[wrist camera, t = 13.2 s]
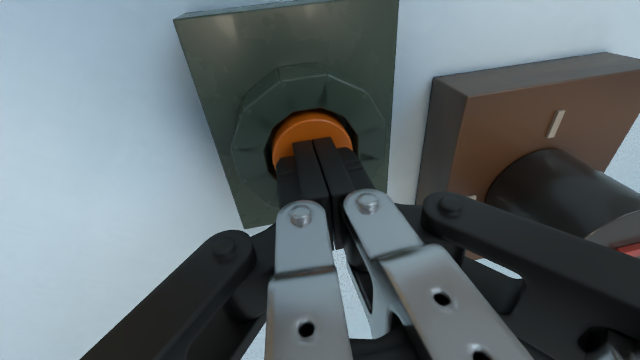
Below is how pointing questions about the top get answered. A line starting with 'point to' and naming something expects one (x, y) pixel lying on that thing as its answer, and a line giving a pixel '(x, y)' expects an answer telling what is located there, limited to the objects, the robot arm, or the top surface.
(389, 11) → the button box
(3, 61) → the top surface
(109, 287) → the top surface
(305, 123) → the button
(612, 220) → the dial knob
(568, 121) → the dial base block
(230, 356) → the robot arm
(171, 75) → the top surface
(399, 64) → the top surface
